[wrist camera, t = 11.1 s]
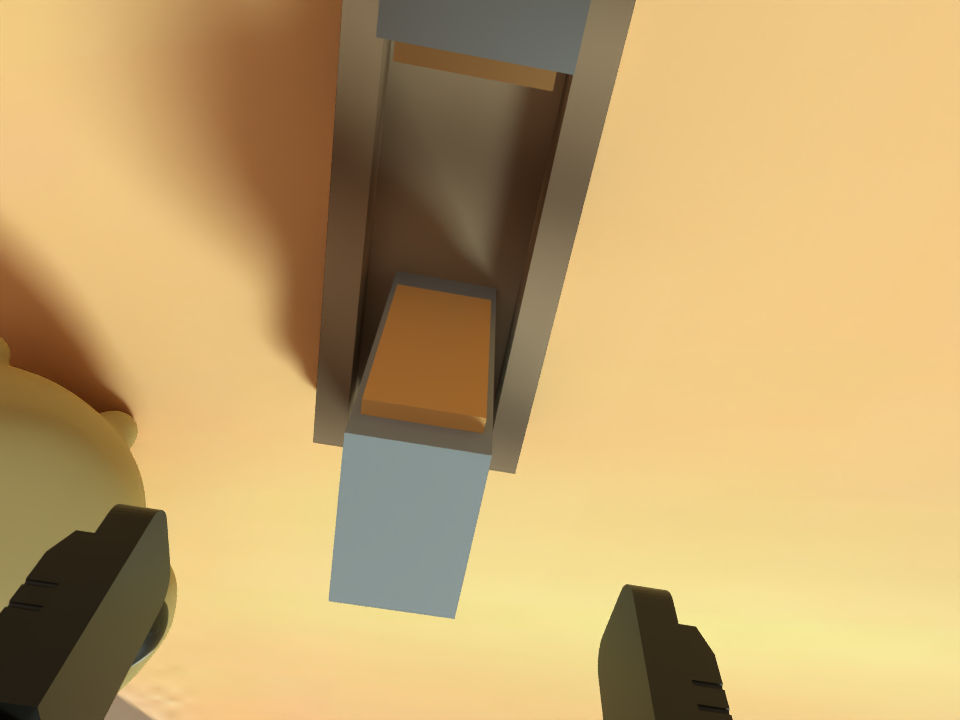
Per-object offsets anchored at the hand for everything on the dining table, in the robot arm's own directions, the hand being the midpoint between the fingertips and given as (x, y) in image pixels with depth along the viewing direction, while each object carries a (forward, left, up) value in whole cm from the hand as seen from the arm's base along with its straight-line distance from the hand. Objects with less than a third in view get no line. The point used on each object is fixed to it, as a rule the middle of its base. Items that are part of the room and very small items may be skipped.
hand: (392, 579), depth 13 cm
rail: (-5, 0, -12) cm, 13 cm away
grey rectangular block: (+2, 0, -11) cm, 11 cm away
